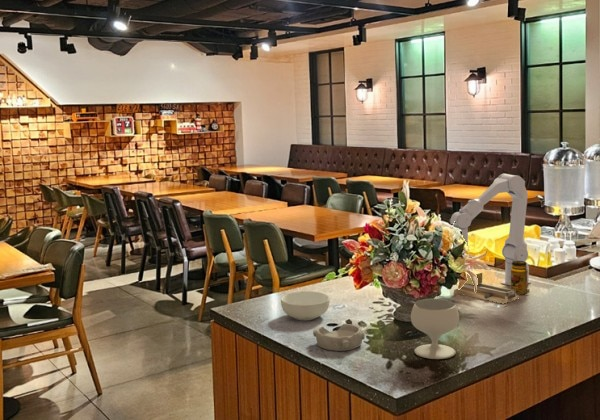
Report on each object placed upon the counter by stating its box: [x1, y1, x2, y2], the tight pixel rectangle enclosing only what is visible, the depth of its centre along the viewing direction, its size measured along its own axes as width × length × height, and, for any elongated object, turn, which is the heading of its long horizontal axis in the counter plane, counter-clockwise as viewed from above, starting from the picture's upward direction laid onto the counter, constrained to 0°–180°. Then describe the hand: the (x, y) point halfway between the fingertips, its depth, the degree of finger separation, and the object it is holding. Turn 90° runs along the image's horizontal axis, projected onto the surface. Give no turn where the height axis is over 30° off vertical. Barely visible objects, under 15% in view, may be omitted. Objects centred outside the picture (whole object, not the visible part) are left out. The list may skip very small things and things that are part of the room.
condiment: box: [510, 261, 531, 296], centre depth 270 cm, size 7×8×12 cm
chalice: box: [410, 298, 460, 360], centre depth 208 cm, size 14×14×15 cm
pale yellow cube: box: [466, 270, 483, 286], centre depth 271 cm, size 5×5×5 cm
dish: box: [312, 323, 366, 352], centre depth 218 cm, size 14×14×5 cm
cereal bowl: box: [280, 290, 330, 321], centre depth 247 cm, size 17×17×7 cm
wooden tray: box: [453, 282, 520, 305], centre depth 267 cm, size 12×22×4 cm, turn 40°
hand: (460, 277), depth 275 cm, fingers closed
